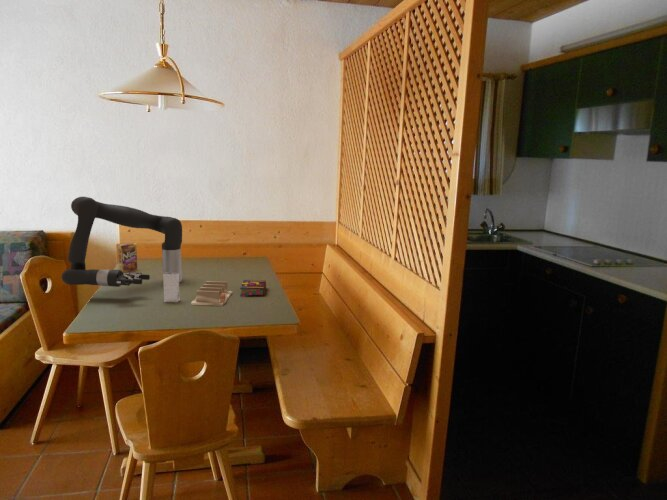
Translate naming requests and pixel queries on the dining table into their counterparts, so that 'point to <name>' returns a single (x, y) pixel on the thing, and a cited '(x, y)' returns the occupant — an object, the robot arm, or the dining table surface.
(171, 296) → the aluminium block
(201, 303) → the slot rack
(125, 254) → the candy box
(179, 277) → the robot arm
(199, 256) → the dining table surface
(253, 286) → the decorative book
